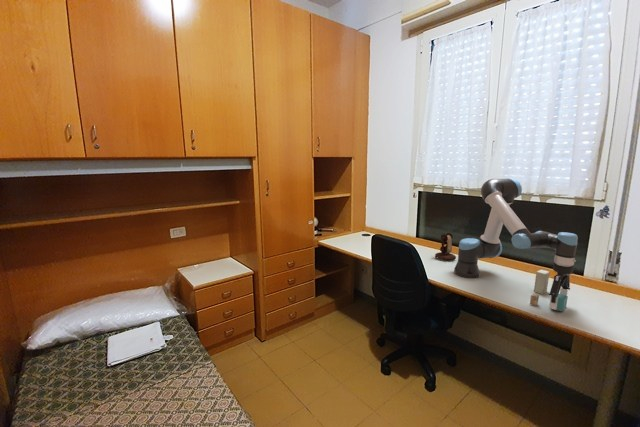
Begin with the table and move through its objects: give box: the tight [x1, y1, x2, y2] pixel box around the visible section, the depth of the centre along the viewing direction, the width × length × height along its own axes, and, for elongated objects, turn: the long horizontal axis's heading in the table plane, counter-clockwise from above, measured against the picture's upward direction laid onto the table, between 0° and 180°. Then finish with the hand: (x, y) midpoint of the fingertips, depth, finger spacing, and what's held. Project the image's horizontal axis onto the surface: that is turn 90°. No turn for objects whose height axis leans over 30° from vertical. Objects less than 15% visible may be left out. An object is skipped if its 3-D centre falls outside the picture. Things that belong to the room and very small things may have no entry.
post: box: [529, 293, 539, 307], centre depth 152 cm, size 3×3×5 cm
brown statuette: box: [434, 232, 457, 262], centre depth 223 cm, size 15×15×20 cm
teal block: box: [555, 293, 569, 312], centre depth 146 cm, size 5×5×7 cm
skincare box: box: [533, 269, 550, 295], centre depth 166 cm, size 6×4×12 cm
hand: (557, 304), depth 146 cm, fingers open, 13 cm apart
